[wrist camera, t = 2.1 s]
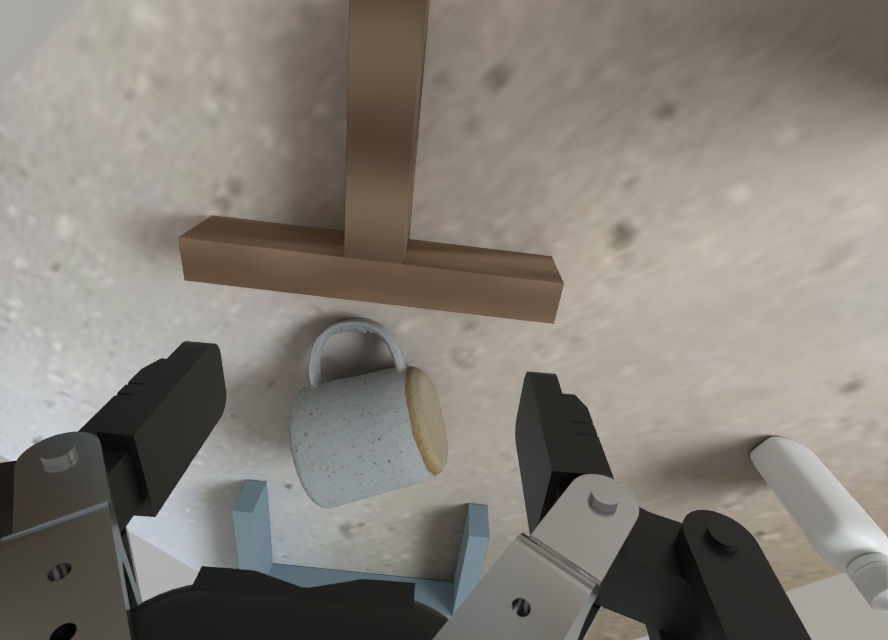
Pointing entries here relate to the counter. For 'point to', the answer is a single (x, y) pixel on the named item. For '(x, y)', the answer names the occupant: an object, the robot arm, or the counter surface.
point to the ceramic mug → (365, 427)
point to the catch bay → (436, 594)
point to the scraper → (376, 206)
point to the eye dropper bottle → (827, 515)
